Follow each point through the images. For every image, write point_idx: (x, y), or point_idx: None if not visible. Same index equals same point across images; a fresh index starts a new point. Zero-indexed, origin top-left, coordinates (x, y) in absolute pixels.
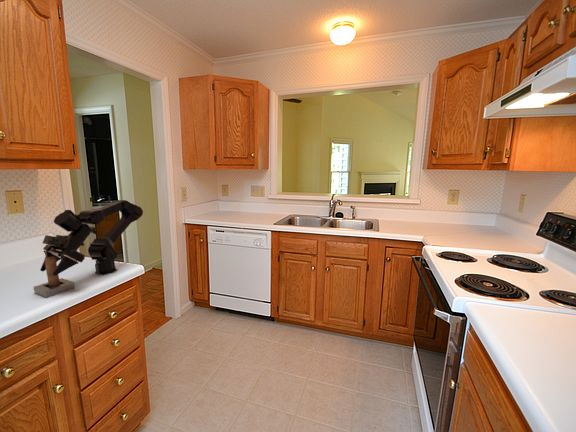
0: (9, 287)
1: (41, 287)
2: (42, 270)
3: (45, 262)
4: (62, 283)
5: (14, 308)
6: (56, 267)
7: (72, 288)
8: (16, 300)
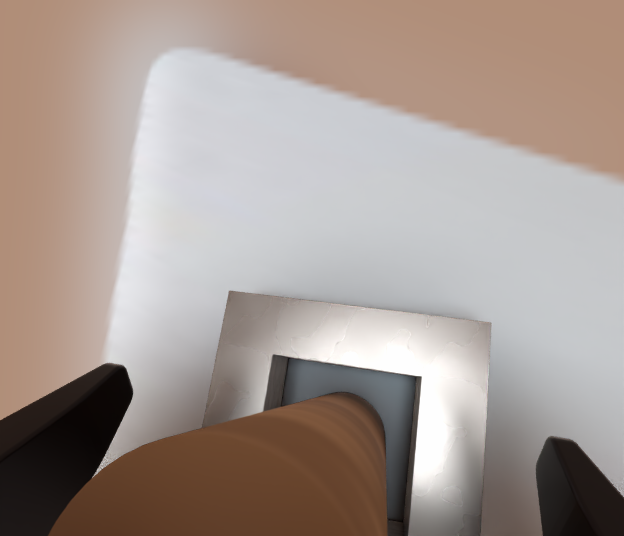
0: None
1: (376, 339)
2: (543, 464)
3: (256, 423)
4: None
5: (304, 130)
6: (14, 442)
7: None
8: (456, 197)
